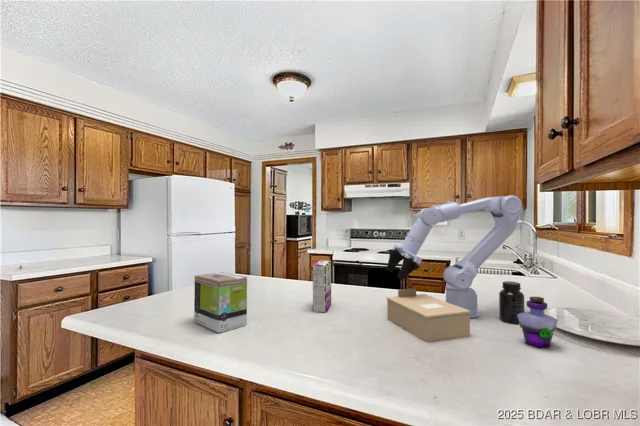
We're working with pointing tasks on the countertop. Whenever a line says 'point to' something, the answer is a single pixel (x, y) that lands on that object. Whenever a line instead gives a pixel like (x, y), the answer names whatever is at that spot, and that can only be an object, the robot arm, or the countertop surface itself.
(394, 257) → the robot arm
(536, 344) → the potion bottle
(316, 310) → the candy bar box
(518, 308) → the supplement bottle
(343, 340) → the countertop surface
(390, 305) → the mailer box
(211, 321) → the tea box
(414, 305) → the mailer lid
